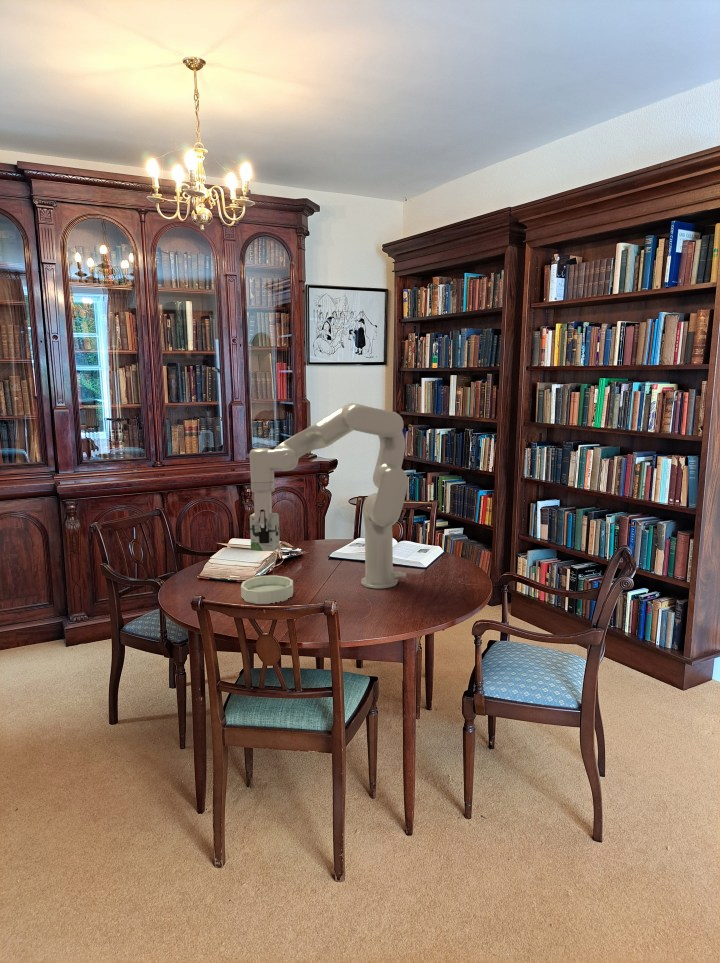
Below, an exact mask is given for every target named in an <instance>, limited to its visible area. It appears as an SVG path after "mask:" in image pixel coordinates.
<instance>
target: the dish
mask: <svg viewBox="0 0 720 963" xmlns="http://www.w3.org/2000/svg"><path fill="white" fill-rule="evenodd" d="M240 595H241V596H240V597H242V598H243V599H244V600H243V599H242V598H241V599H242V600H243V601H244V602H246V603H251V604H256V605H268V604H270V603H273V604H276V603H275V602H277V603H281V602H285V601H287V600H289V599H290V597H291V598H292V597H293V596H294V580H293V579H291V578H290V577H288V576H281V575H275V574H274V575H259V576H255V577H250V578H248V579H246V580H244V581H242V582H241V585H240ZM288 598H289V599H288ZM280 601H281V602H280ZM270 605H271V604H270Z"/></svg>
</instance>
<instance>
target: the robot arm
mask: <svg viewBox="0 0 720 963" xmlns="http://www.w3.org/2000/svg"><path fill="white" fill-rule="evenodd" d="M404 426H405V425H404V420H403V417H402V416H401V415H400V414H399V413H397V412H395V411H391V410H386V409H382V408H381V409H380V408H375V407H372V406H367V405H365V404H364V405H363V404H359V403H353V402H352V403H347V404H344V405H343V406H341V407H339V408H338V409H336V410H335V411H333V412H331V413H330V414H329V415H327V416H326V417H324V418H321V420H319V421H318V422H316V423H314V424H312V425H309V426H307V428H305V429H304V430H302V431H300V432H297V433H296V434H294V435H292V436H290V437H289V438H287V439H285V440H284V441H283V442H281V443H279V444H278V445H277V446H275V448H273V449H271V448H268V447H267V448H266V447H258V448H253V449H251V450H250V451H249V465H250V466H249V468H250V469H249V471H250V489H251V490H250V491H251V492H252V493H254V496H253V497H254V498H253V499H254V501H253V503H254V506H253V510H254V512H253V513H254V518H255V523H257V522H258V521H259V543H269V531H268V522H269V521H270V516H271V513H273V511H272V510H273V506H272V505H273V504H272V503H273V501H272V492H275V490H276V488H275V486H276V485H275V471H282V472H289V471H292V470H294V469H295V468H296V467H297V466H298V463H299V458H301V457H302V456H304V455H306V454H308V453H310V452H312V451H315V450H320V449H321V450H322V449H325V448H326V447H329V446H332V445H333V444H334V443H336V442H337V441H339V440H340V439H342V438H343V437H345V436H347V435H348V434H350V433H351V432H354V431H357V432H360V433H364V434H369V435H374V436H378V439H379V452H378V455H377V459H376V462H375V468H374V471H373V474H372V482H373V485H374V486H375V487H376V488H377V493H376V492H375V493H372V494H370V495H368V496H367V497H365V499H364V501H363V504H362V516H363V517H362V518H363V525H364V555H365V556H364V564H365V568H364V569H365V576H364V577H362V578H361V581H360V582H361V585H362V586H364V587H365V588H369V589H378V590H379V589H389V588H393V587H395V586H396V585H397V584H398V579H407V572H403V571H396V570H394V567H393V566H394V565H393V564H394V562H393V553H394V552H393V551H394V550H393V540H394V537H393V536H394V535H393V525H395V524H396V523H397V522H398V521H399V519H400V516H401V514H402V510H403V508H404V503H405V498H406V495H407V490H408V486H409V485H408V484H409V482H408V481H409V480H408V476H407V473H406V471H405V470H404V469H402V465H403V462H404V456H405V453H406V452H405V450H406V440H405V435H404V432H403V429H404ZM264 520H266V521H264ZM265 524H266V525H265Z"/></svg>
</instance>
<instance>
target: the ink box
mask: <svg viewBox="0 0 720 963" xmlns="http://www.w3.org/2000/svg"><path fill="white" fill-rule="evenodd" d="M264 521H266V520H264ZM265 525H266V524H265ZM249 531H250V534H249V535H250V551H261V552H276V551H277V550H279V549H280V548H281V541H280V514H279V513H277V512H272V513H271V516H270V521H269V522H268V531H269V543H259V521H258V522H257V523H255V518H254V512H253V513H252V514H250V515H249Z"/></svg>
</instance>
